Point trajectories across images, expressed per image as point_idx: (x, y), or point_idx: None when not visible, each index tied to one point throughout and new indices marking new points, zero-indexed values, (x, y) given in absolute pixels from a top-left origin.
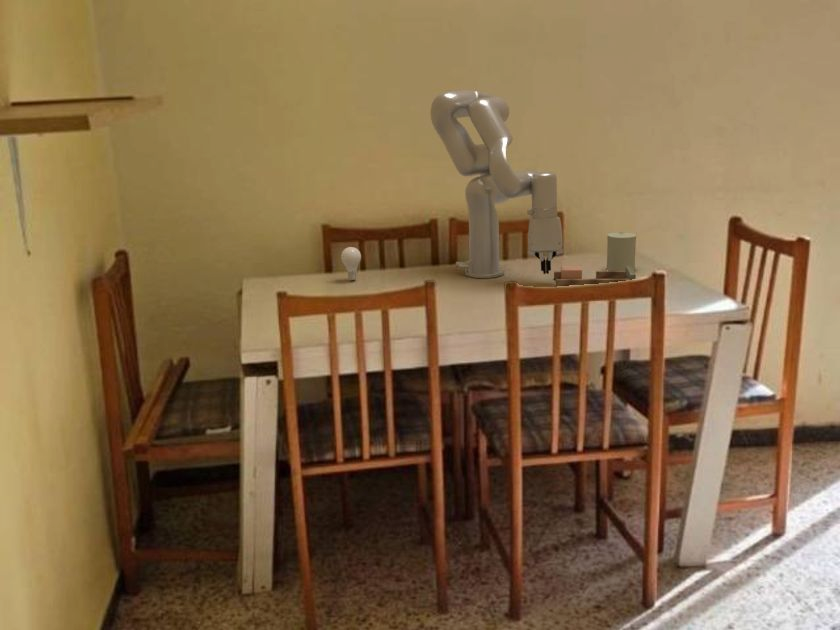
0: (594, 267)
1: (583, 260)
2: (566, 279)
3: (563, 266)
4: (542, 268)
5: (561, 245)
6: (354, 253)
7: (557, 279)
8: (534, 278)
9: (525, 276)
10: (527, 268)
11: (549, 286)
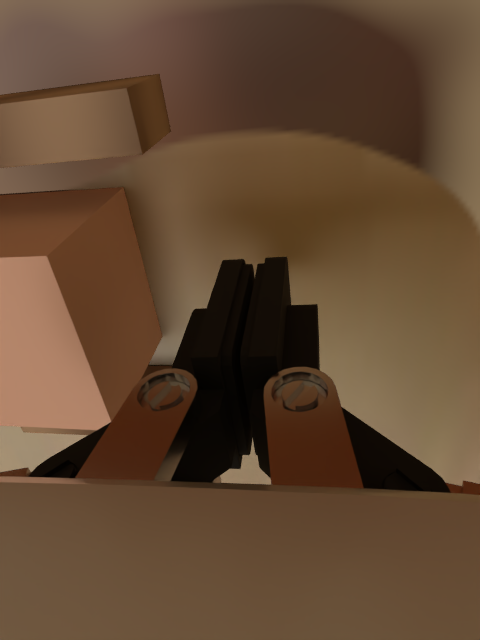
0: None
1: None
2: (18, 138)
3: (86, 410)
4: (298, 314)
5: None
6: None
7: (115, 129)
8: (371, 411)
9: (436, 459)
10: None
11: (233, 157)
